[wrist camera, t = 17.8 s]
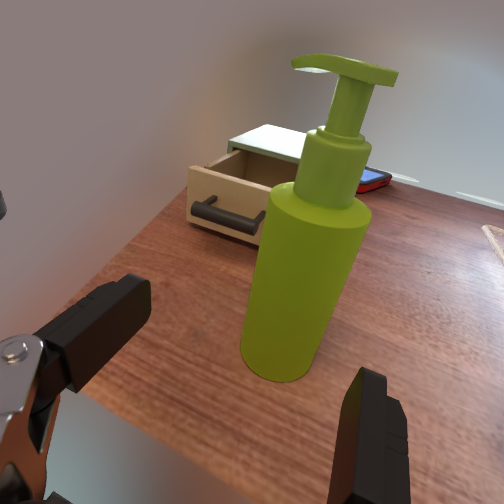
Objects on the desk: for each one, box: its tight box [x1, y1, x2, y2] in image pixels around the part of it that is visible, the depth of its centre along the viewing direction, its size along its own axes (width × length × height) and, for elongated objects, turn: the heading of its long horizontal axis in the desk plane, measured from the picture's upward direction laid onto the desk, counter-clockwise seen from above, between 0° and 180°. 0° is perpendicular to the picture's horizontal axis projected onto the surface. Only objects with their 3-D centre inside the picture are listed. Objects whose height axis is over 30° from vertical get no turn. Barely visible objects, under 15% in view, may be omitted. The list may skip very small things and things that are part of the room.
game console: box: [356, 166, 392, 193], centre depth 64 cm, size 14×13×2 cm
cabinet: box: [227, 124, 306, 164], centre depth 50 cm, size 17×15×9 cm
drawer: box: [186, 148, 299, 245], centre depth 39 cm, size 20×13×7 cm, turn 158°
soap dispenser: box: [240, 54, 398, 382], centre depth 19 cm, size 6×7×20 cm
